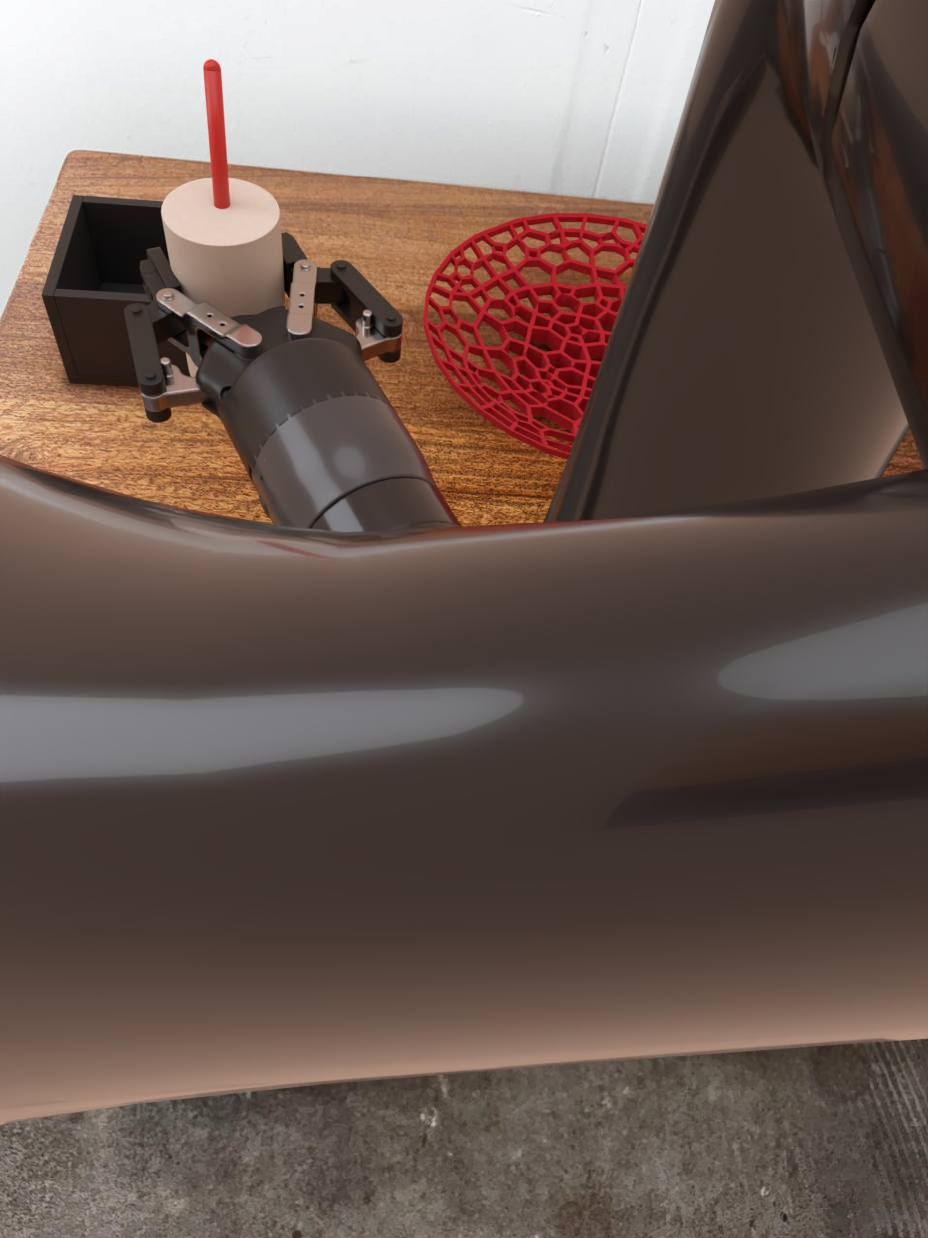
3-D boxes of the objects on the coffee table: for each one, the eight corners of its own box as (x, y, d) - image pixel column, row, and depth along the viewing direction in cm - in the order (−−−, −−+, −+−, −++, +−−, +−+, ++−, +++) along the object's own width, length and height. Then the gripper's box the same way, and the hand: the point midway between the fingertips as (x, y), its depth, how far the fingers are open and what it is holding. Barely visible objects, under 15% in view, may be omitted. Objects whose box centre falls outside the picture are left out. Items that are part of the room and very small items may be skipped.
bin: (69, 383, 68) (40, 294, 62) (95, 283, 75) (72, 194, 68) (228, 391, 70) (217, 305, 63) (241, 292, 76) (232, 205, 70)
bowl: (788, 546, 67) (817, 501, 63) (390, 478, 67) (394, 428, 63) (763, 295, 84) (786, 246, 80) (444, 238, 83) (450, 186, 79)
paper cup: (182, 397, 53) (128, 111, 39) (194, 329, 56) (148, 44, 42) (285, 402, 53) (267, 123, 40) (292, 335, 56) (277, 56, 43)
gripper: (478, 363, 42) (334, 163, 50) (168, 447, 38) (60, 211, 45) (461, 474, 49) (335, 281, 56) (192, 558, 44) (94, 335, 51)
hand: (213, 251), depth 51 cm, fingers closed on paper cup, 5 cm apart
